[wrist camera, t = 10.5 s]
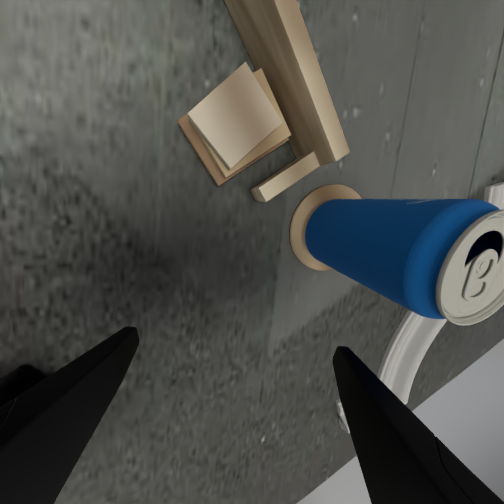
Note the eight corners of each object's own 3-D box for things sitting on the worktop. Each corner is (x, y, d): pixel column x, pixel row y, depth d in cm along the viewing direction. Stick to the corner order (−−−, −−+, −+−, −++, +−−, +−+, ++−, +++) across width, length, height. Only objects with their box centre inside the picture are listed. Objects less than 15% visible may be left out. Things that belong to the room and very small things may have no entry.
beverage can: (360, 198, 20) (561, 198, 9) (352, 258, 22) (511, 322, 10) (302, 199, 19) (457, 199, 7) (299, 263, 20) (418, 343, 9)
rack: (256, 201, 18) (275, 202, 13) (107, -56, 12) (44, -224, 7) (312, 163, 18) (349, 152, 14) (196, -105, 12) (191, -297, 7)
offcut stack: (217, 186, 17) (221, 183, 13) (178, 126, 15) (172, 105, 12) (283, 143, 17) (303, 130, 14) (253, 79, 15) (267, 46, 12)
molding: (496, 160, 25) (533, 155, 22) (532, 209, 28) (567, 209, 26) (318, 416, 29) (330, 438, 27) (370, 428, 33) (385, 448, 30)
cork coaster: (311, 284, 22) (313, 286, 21) (273, 217, 19) (275, 217, 18) (374, 239, 22) (377, 240, 22) (348, 166, 19) (351, 166, 19)
